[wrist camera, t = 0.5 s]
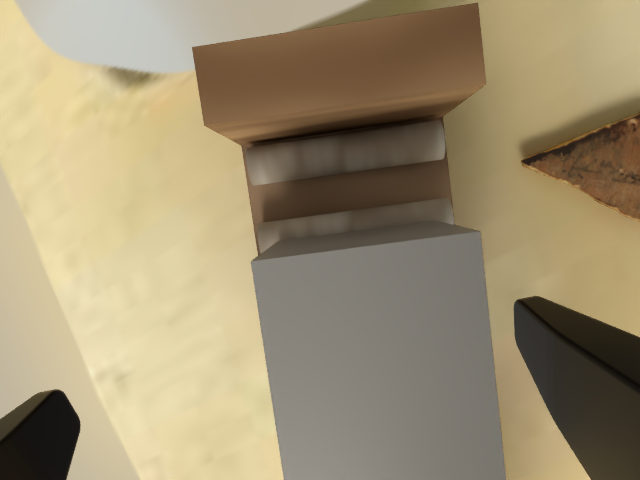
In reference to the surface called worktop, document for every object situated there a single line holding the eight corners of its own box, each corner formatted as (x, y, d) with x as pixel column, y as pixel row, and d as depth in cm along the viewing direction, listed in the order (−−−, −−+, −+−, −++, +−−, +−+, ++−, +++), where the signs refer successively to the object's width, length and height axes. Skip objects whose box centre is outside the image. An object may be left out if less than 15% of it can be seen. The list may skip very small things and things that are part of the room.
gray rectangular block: (456, 411, 23) (508, 503, 16) (304, 428, 24) (290, 525, 17) (435, 220, 22) (480, 231, 15) (277, 241, 23) (250, 261, 16)
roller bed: (469, 412, 27) (528, 506, 19) (288, 432, 27) (268, 533, 19) (430, 53, 25) (476, -17, 17) (236, 82, 25) (189, 28, 17)
